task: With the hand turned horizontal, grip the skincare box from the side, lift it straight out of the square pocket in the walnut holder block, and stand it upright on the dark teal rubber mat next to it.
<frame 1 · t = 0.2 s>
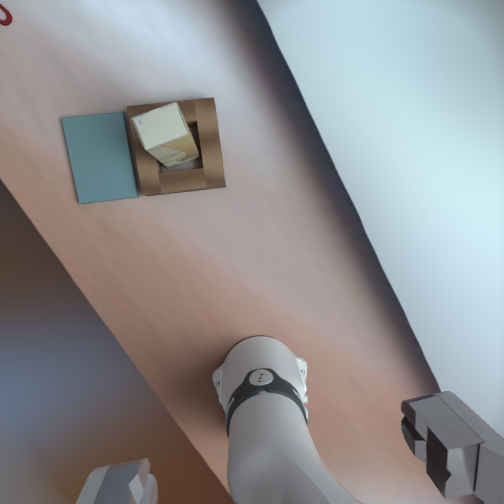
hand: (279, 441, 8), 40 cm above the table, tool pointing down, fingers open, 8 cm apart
teal mat: (102, 159, 44), on the table
skincare box: (181, 151, 45), resting in pocket holder
pocket holder: (180, 150, 44), on the table
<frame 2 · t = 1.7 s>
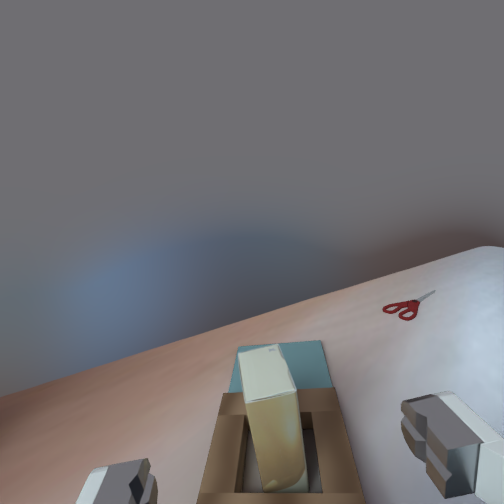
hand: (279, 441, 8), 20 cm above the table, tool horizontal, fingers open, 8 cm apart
teal mat: (279, 368, 39), on the table
skincare box: (280, 467, 26), resting in pocket holder
scissors: (415, 305, 50), on the table
pocket holder: (280, 465, 26), on the table
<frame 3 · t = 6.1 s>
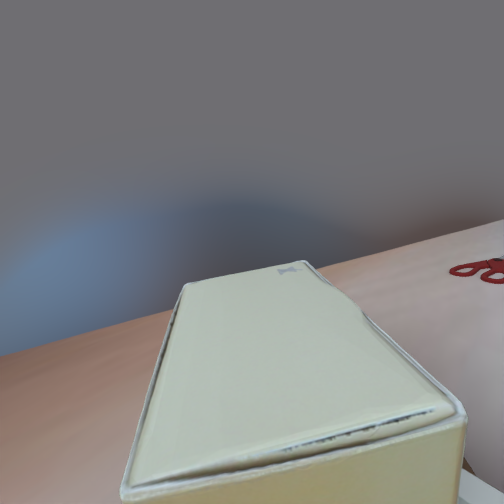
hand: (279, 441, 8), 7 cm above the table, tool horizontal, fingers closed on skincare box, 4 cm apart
scissors: (498, 267, 33), on the table
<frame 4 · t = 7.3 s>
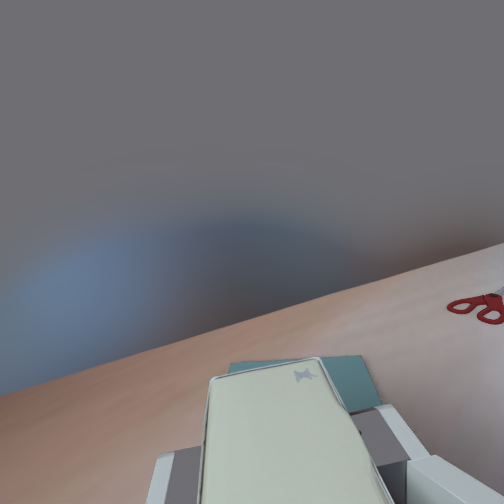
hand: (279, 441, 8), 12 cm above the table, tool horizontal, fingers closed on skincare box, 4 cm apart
teal mat: (296, 404, 23), on the table
scissors: (494, 302, 34), on the table
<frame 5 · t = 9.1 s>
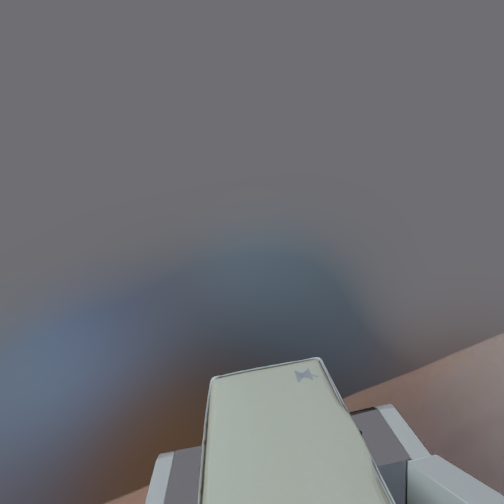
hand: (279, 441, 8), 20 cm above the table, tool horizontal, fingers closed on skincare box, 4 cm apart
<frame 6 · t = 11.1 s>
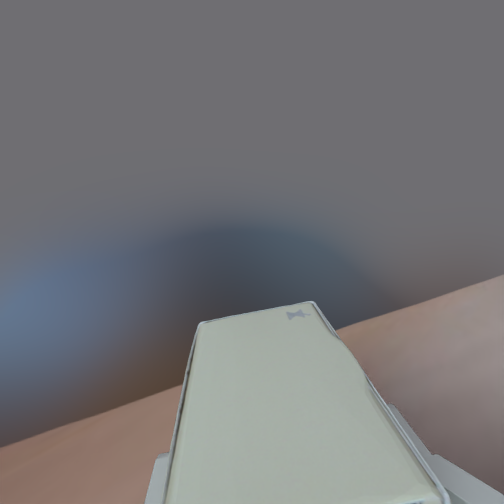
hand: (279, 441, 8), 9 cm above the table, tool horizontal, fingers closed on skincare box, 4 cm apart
when the fingers open (9 cm above the table, at t = 11.6 s): skincare box stays where it is, resting on teal mat.
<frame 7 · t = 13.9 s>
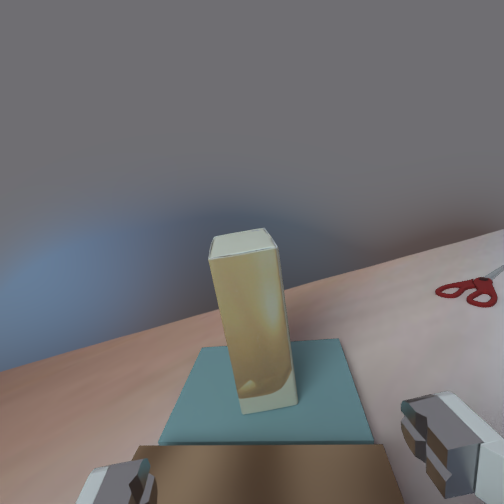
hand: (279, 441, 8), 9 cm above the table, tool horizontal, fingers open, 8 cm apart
teal mat: (265, 388, 21), on the table
skincare box: (265, 382, 21), point 1 cm above the table, touching teal mat
scissors: (484, 286, 32), on the table
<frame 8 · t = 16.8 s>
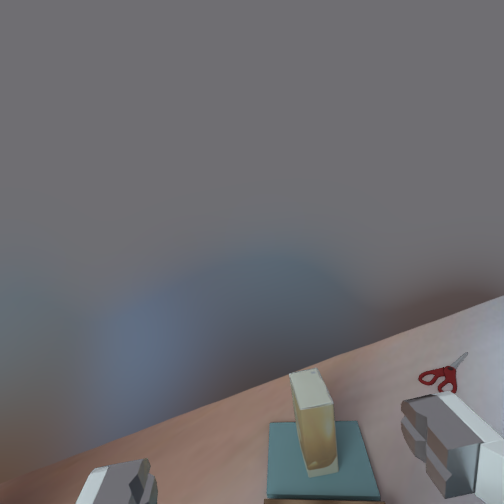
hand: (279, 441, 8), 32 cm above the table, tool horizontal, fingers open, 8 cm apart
teal mat: (316, 457, 37), on the table
skincare box: (317, 454, 37), point 1 cm above the table, touching teal mat
scissors: (450, 372, 48), on the table
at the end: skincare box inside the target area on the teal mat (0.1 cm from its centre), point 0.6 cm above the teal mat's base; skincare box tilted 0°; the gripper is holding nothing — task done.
